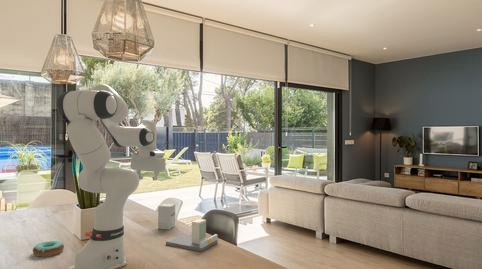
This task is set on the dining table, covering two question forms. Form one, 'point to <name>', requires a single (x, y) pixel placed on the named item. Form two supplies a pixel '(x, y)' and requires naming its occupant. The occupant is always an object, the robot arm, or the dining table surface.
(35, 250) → the donut
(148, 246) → the dining table surface
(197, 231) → the carton
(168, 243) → the grey panel white edge
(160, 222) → the supplement box
